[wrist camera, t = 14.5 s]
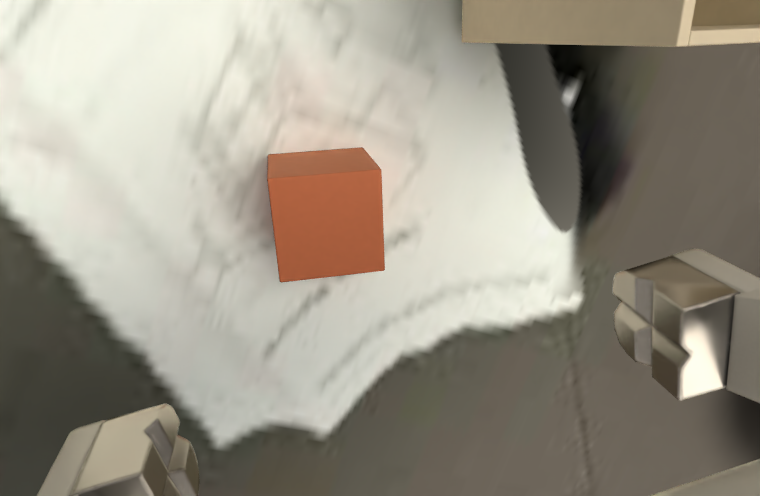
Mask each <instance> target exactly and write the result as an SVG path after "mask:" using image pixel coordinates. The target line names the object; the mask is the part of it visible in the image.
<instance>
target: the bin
mask: <svg viewBox="0 0 760 496" xmlns="http://www.w3.org/2000/svg"><path fill="white" fill-rule="evenodd" d="M462 43H512V44H560V45H610V46H659V47H683V46H702V45H722V44H741V43H760V0H463V3H462Z"/></svg>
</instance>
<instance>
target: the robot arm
mask: <svg viewBox="0 0 760 496" xmlns="http://www.w3.org/2000/svg"><path fill="white" fill-rule="evenodd" d="M613 294H614V295H615V296H616V297H617V298H618V299H619V300H620V301H621V302H620V304H619V306H618V307H617V309H616V311H615V312H614V314H613V315H614V330H615V332H616V335H617V338H618V340H619V343H620V345H621V346H622V347H623V349H624V350H625V352H626V353H627V354H628V355H629V356H630V357H631V358H632V359H633V360H634V361H635V362H638V363H641V364H644V365H648V366H651V367H652V377H653V378H654V379H655V380H656V381H657V382H659V383H660V384H661V385H662V386H663V387H664V388H665V389H666V390H668V391H669V392H670V393H671V394H672V395H673V396H674V397H675V398H677V399H678V400H679V401H681V400H684V399H688V398H691V397H695V396H698V395H702V394H705V393H709V392H712V391H716V390H719V389H723V388H726V387H727V389H726V390H728V391H731V392H733V393H736V394H738V395H741V396H743V397H746V398H748V399H751V400H753V401H756V402H758V403H760V278H758V277H756V276H754V275H752V274H750V273H748V272H746V271H744V270H742V269H740V268H738V267H736V266H734V265H732V264H730V263H728V262H726V261H724V260H722V259H720V258H718V257H716V256H714V255H712V254H710V253H708V252H706V251H704V250H702V249H689V250H686V251H683V252H680V253H677V254H674V255H671V256H667V257H666V258H663V259H660V260H656V261H653V262H650V263H647V264H643V265H640V266H637V267H634V268H631V269H627V270H624V271H621V272H618V273H616V274H615V277H614V280H613ZM179 424H180V420H179V419H178V417H177V415H176V413H175V411H174V409H173V407H172V406H170V405H168V404H166V403H165V404H162V405H158V406H154V407H151V408H147V409H143V410H139V411H136V412H132V413H128V414H125V415H121V416H117V417H113V418H110V419H107V420H102V421H99V422H95V423H92V424H89V425H85V426H82V427H79V428H76V429H75V430H73V431H71V432H70V433H69V435H68V437H67V439H66V441H65V442H64V444H63V446H62V448H61V450H60V452H59V454H58V456H57V458H56V460H55V462H54V464H53V466H52V468H51V469H50V471H49V473H48V475H47V477H46V479H45V481H44V483H43V485H42V487H41V489H40V491H39V493H38V494H37V496H198V491H199V484H200V479H199V466H198V462H197V458H196V455H195V452H194V449H193V447H192V445H191V443H190V441H189V440H187V439H185V438H183V437H181V436H179V435H177V432H178V428H179ZM650 496H760V459H758V460H755V461H752V462H749V463H746V464H743V465H740V466H737V467H734V468H731V469H728V470H725V471H722V472H719V473H716V474H713V475H710V476H707V477H704V478H701V479H698V480H695V481H692V482H689V483H686V484H683V485H680V486H677V487H674V488H671V489H668V490H665V491H662V492H659V493H656V494H653V495H650Z"/></svg>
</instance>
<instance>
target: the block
mask: <svg viewBox="0 0 760 496" xmlns="http://www.w3.org/2000/svg"><path fill="white" fill-rule="evenodd" d="M267 181H268V189H269V197H270V206H271V214H272V222H273V230H274V238H275V246H276V255H277V263H278V271H279V279H280V282H289V281H298V280H306V279H315V278H324V277H332V276H341V275H350V274H358V273H367V272H376V271H384V270H385V263H384V234H383V205H382V177H381V169H380V168H379V166H378V165H377V164H376V163H375V162H374V160H373V159H372V158H371V157H370V156H369V154H368V153H367V152H366V151H365V150H364V148H349V149H336V150H322V151H309V152H296V153H282V154H269V155H268V173H267Z"/></svg>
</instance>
